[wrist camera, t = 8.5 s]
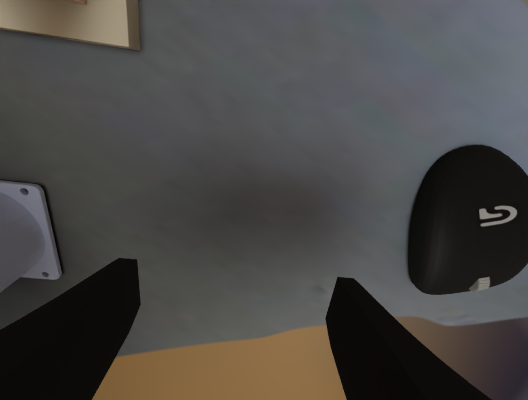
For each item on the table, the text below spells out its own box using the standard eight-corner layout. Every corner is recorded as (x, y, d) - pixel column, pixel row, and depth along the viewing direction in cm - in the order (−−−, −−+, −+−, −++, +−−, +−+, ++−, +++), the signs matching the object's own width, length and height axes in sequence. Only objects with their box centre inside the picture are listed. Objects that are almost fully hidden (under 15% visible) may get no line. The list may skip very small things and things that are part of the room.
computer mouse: (519, 134, 18) (588, 145, 14) (489, 273, 22) (535, 309, 19) (408, 153, 18) (447, 170, 14) (402, 286, 23) (430, 324, 19)
